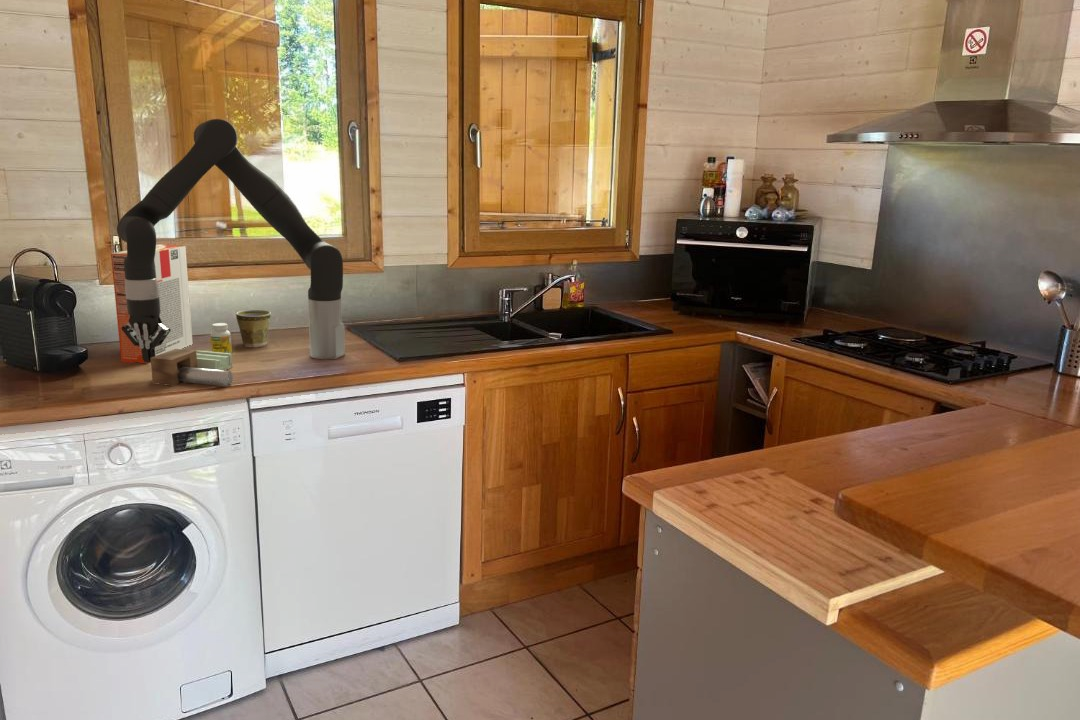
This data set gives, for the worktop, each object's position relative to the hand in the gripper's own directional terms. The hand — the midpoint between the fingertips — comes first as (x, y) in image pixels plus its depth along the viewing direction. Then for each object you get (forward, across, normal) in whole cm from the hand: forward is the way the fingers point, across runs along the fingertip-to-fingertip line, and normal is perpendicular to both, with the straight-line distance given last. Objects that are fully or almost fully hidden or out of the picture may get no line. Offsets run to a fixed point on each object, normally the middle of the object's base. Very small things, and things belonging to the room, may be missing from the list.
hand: (149, 361), depth 202 cm
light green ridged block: (+4, -9, -11) cm, 15 cm away
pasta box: (+4, +14, -23) cm, 27 cm away
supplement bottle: (+5, -5, -24) cm, 25 cm away
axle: (+4, -12, 0) cm, 13 cm away
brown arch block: (+4, -7, 0) cm, 8 cm away
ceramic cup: (+5, -5, -42) cm, 42 cm away
